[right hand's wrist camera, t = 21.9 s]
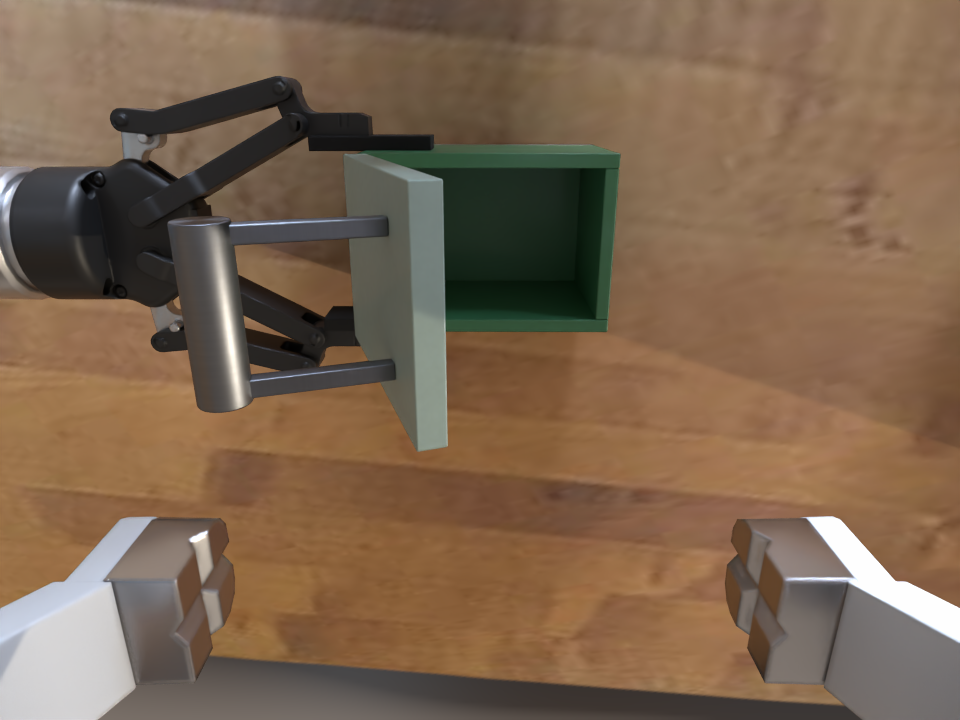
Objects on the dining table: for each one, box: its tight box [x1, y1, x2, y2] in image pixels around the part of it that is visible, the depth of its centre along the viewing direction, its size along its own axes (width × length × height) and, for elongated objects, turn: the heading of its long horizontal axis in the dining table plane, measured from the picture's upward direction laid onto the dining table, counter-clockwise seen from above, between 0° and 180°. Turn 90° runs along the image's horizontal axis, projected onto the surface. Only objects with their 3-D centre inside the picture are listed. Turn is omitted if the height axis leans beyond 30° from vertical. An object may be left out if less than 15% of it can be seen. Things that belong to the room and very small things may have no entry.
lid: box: [167, 154, 448, 452], centre depth 27 cm, size 14×9×8 cm
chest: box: [357, 144, 620, 332], centre depth 39 cm, size 13×10×10 cm
